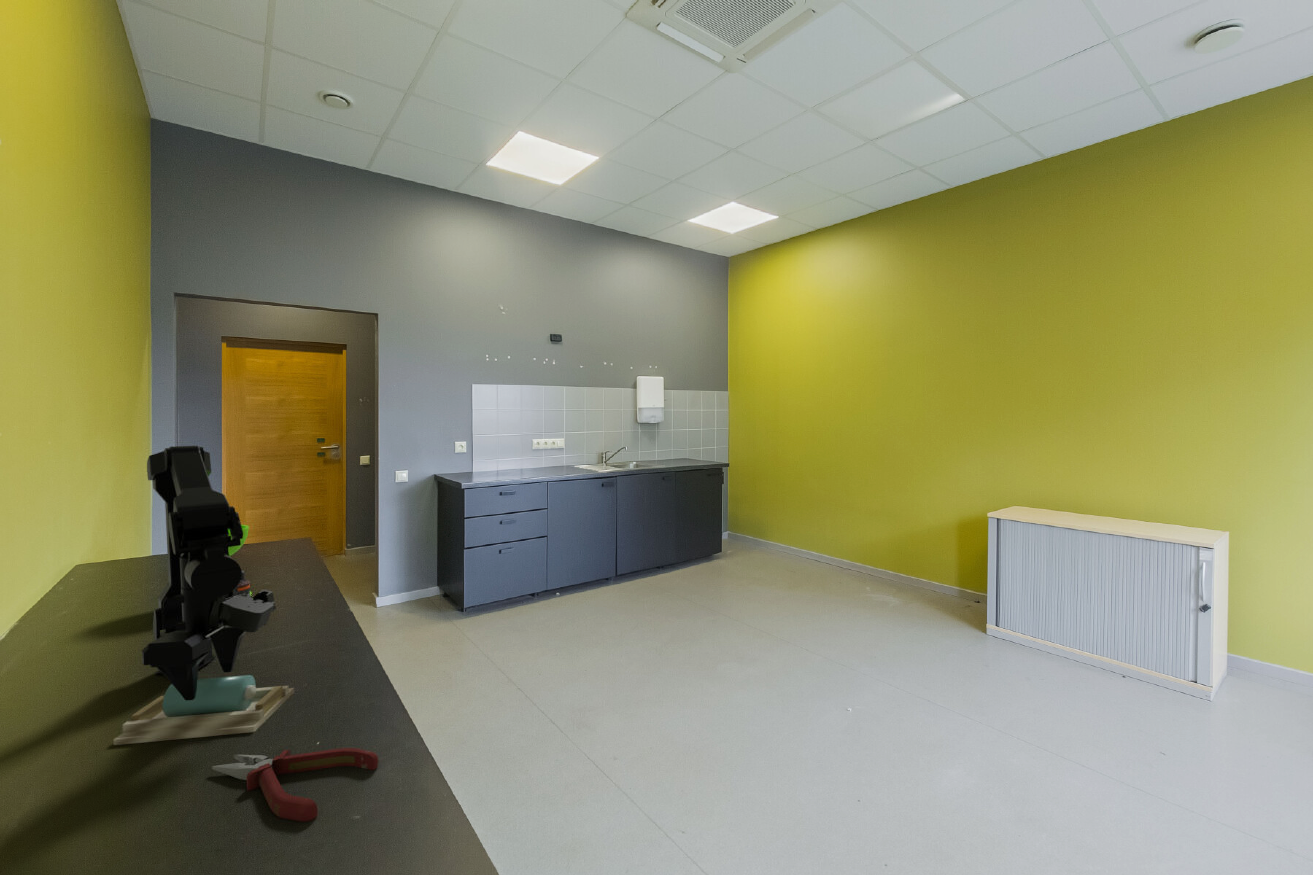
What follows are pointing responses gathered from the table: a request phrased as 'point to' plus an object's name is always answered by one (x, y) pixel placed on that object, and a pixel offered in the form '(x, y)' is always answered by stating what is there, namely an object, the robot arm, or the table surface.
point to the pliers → (265, 770)
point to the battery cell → (212, 696)
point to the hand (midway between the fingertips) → (210, 685)
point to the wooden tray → (201, 719)
